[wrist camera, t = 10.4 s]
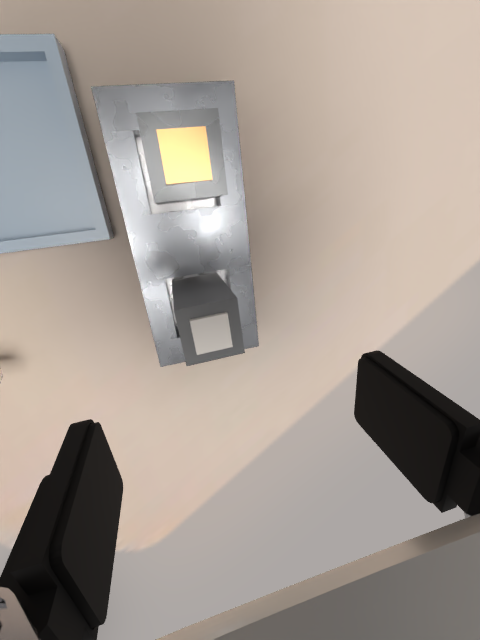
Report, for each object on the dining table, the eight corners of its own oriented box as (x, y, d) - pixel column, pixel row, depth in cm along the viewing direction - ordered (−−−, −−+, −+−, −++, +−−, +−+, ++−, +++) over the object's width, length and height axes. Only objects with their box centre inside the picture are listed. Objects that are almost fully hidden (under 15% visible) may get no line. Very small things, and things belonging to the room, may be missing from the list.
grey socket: (101, 103, 20) (54, 26, 12) (225, 96, 22) (262, 25, 13) (161, 351, 28) (159, 413, 19) (250, 333, 29) (283, 383, 21)
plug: (171, 280, 25) (173, 311, 17) (216, 272, 25) (238, 298, 18) (180, 322, 26) (187, 368, 19) (223, 314, 27) (245, 354, 19)
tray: (-118, 52, 17) (-148, 35, 15) (63, 49, 19) (54, 34, 17) (-25, 255, 22) (-41, 258, 20) (113, 237, 23) (110, 239, 22)
